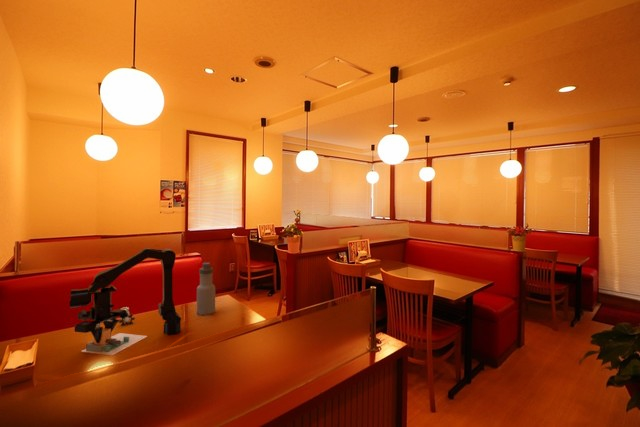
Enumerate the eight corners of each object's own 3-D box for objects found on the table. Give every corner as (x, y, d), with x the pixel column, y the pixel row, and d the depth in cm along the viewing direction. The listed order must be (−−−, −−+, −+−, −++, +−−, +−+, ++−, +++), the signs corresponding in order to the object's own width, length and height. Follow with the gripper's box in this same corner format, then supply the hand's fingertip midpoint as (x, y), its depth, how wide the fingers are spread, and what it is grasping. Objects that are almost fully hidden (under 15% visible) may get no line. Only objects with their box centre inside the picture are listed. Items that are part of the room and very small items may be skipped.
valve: (116, 321, 153) (118, 328, 143) (116, 308, 153) (118, 315, 143) (131, 318, 157) (134, 325, 147) (131, 305, 157) (134, 312, 147)
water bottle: (197, 310, 170) (197, 261, 170) (215, 308, 173) (215, 261, 173) (195, 316, 160) (196, 265, 160) (214, 314, 163) (215, 264, 163)
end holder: (116, 344, 124) (116, 338, 124) (100, 352, 117) (100, 346, 117) (102, 342, 125) (102, 337, 125) (86, 350, 118) (86, 344, 118)
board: (147, 338, 132) (147, 336, 132) (111, 357, 115) (111, 355, 115) (119, 335, 135) (119, 333, 135) (80, 353, 118) (80, 351, 118)
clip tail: (118, 346, 122) (118, 341, 122) (108, 351, 118) (108, 347, 118) (114, 345, 123) (114, 341, 123) (103, 351, 118) (103, 346, 118)
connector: (123, 343, 121) (123, 330, 121) (115, 347, 118) (115, 333, 118) (102, 340, 123) (102, 327, 123) (93, 344, 120) (93, 331, 120)
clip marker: (128, 341, 127) (129, 336, 127) (118, 346, 122) (118, 341, 122) (125, 340, 128) (125, 336, 128) (114, 345, 123) (114, 341, 123)
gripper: (106, 295, 132) (106, 330, 132) (62, 309, 113) (62, 349, 114) (128, 297, 129) (127, 332, 130) (86, 311, 111) (86, 352, 111)
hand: (102, 340), depth 121 cm, fingers closed on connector, 3 cm apart
